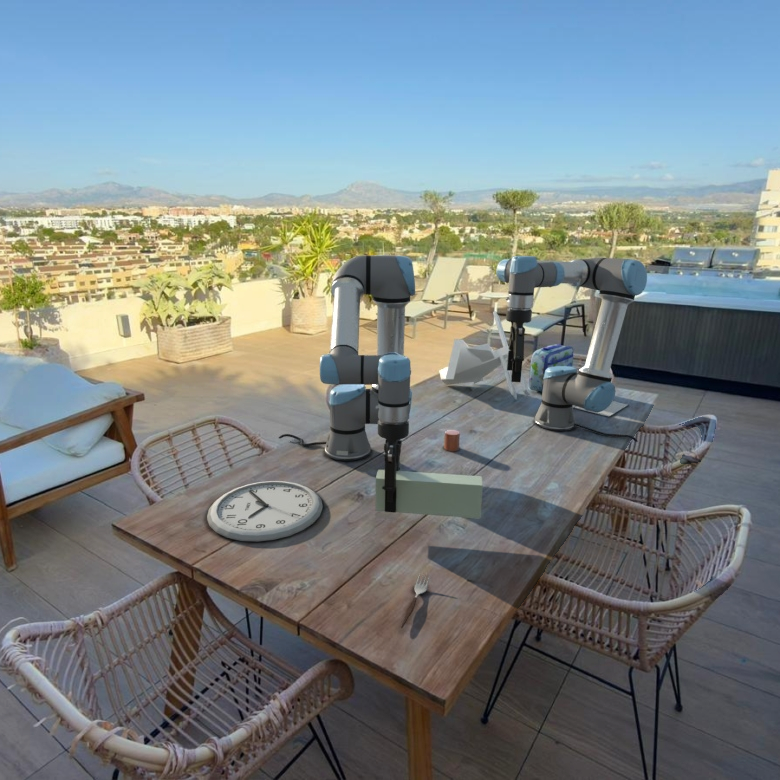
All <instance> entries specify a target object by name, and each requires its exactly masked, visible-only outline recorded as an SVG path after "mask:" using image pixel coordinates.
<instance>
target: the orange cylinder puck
mask: <svg viewBox="0 0 780 780" xmlns="http://www.w3.org/2000/svg"><path fill="white" fill-rule="evenodd" d="M460 435H461V434H460V431H459V430H456V429H447V430H445V431H444V445H443V448H444V450H445V451H448V452H457V451H459V450H460Z"/></svg>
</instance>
